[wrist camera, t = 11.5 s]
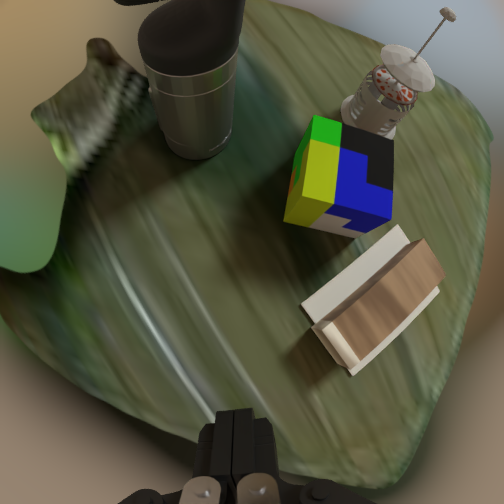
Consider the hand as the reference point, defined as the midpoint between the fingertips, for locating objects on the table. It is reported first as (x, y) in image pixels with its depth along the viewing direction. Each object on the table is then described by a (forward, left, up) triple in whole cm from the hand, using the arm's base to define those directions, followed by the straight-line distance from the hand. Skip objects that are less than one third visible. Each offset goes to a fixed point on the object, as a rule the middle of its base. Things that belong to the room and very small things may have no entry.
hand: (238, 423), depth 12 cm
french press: (-4, +40, -26) cm, 48 cm away
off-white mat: (+12, +17, -26) cm, 33 cm away
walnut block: (+9, +7, -23) cm, 26 cm away
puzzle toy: (-2, +23, -26) cm, 35 cm away
